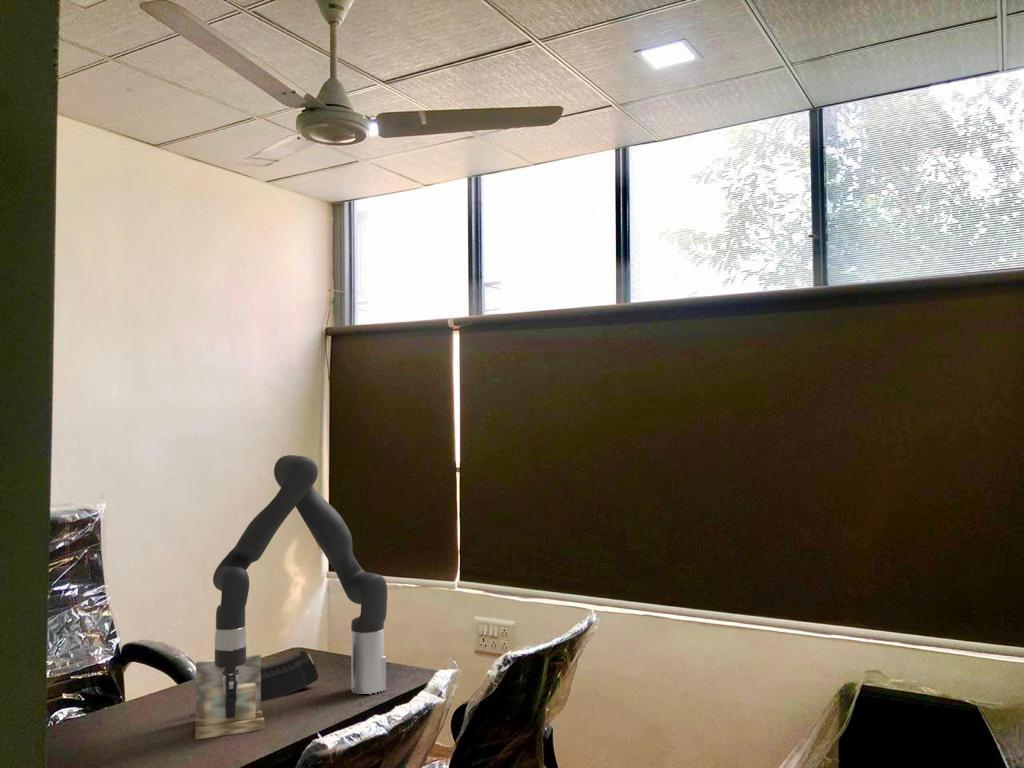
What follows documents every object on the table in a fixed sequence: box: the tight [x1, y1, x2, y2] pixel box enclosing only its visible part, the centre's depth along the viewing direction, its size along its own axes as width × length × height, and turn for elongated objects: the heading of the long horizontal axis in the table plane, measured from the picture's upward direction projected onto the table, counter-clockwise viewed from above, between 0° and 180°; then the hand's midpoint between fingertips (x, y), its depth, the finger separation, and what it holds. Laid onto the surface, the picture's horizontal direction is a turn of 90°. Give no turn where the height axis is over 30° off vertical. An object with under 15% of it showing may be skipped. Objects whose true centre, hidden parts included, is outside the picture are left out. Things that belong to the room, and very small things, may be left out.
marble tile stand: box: [194, 654, 265, 740], centre depth 202 cm, size 16×14×15 cm
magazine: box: [261, 650, 319, 702], centre depth 222 cm, size 17×3×30 cm
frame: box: [204, 682, 256, 725], centre depth 199 cm, size 12×3×8 cm, turn 112°
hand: (230, 714), depth 198 cm, fingers closed on frame, 3 cm apart
